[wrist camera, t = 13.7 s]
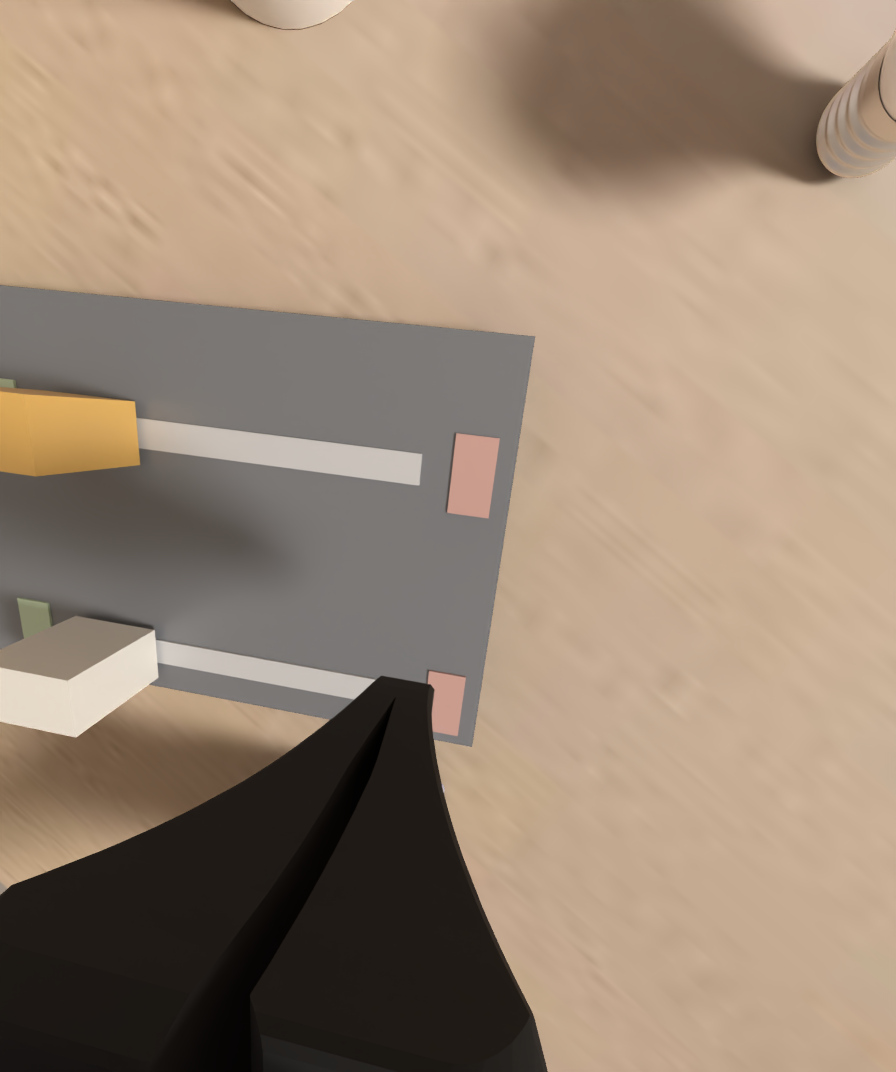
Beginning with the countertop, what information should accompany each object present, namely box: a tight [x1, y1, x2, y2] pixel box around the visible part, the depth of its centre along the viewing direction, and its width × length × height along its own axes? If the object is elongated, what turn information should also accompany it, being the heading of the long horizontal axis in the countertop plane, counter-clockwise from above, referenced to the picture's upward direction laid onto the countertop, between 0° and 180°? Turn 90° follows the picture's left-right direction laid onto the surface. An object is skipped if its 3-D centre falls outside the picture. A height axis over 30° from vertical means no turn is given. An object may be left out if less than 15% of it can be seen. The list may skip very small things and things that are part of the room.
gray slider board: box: [0, 285, 535, 747], centre depth 19 cm, size 17×24×2 cm
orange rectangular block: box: [0, 387, 140, 476], centre depth 15 cm, size 2×4×4 cm, turn 84°
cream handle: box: [0, 616, 159, 737], centre depth 18 cm, size 2×4×4 cm, turn 84°
